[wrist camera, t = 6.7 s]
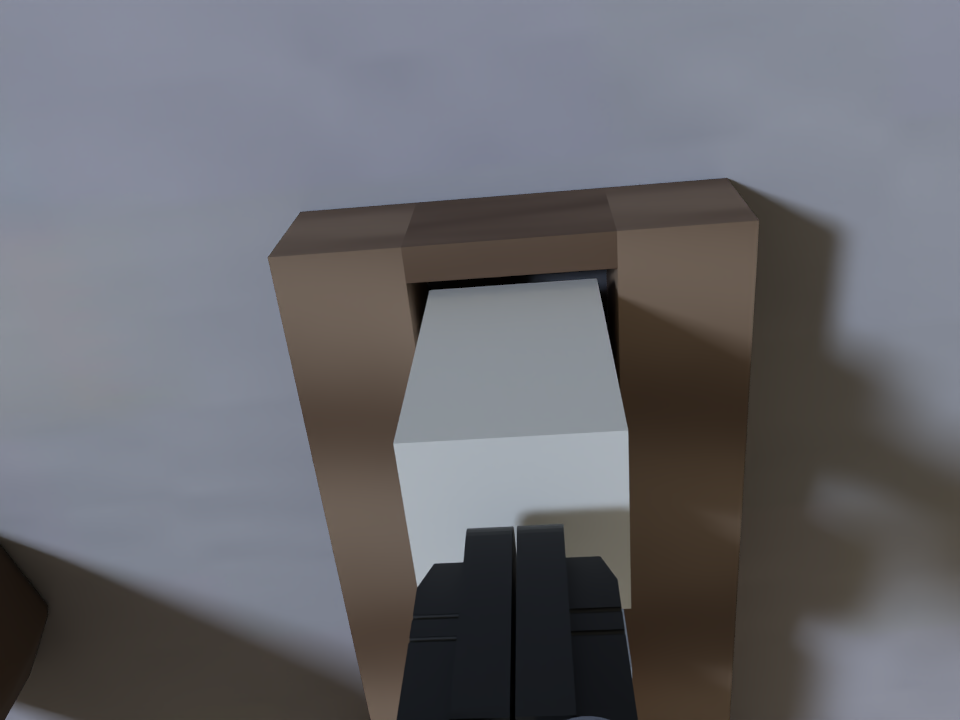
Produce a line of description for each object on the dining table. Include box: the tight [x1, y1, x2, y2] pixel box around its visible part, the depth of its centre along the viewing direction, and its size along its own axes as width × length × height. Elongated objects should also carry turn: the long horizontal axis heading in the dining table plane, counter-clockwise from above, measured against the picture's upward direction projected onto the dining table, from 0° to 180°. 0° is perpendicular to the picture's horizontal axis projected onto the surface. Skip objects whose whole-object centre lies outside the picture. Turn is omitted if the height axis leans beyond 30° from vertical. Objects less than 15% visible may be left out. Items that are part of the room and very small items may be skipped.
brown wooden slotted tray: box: [268, 178, 759, 720], centre depth 24 cm, size 21×10×3 cm, turn 5°
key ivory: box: [393, 278, 631, 609], centre depth 17 cm, size 4×4×6 cm
